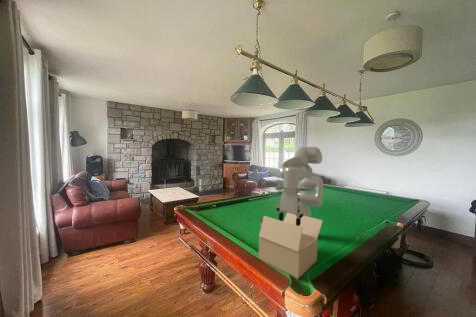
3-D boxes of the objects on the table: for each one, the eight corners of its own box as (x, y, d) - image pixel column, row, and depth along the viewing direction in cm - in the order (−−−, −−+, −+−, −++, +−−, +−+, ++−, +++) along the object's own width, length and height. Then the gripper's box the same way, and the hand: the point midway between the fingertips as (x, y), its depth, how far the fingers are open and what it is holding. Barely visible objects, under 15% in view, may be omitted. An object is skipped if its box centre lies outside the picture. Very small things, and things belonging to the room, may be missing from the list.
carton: (280, 246, 112) (281, 226, 112) (316, 260, 97) (317, 238, 97) (258, 259, 96) (259, 236, 96) (297, 279, 81) (299, 252, 81)
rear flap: (281, 226, 112) (281, 226, 112) (317, 238, 97) (317, 238, 97) (287, 211, 117) (287, 212, 117) (322, 220, 102) (322, 220, 102)
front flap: (264, 215, 99) (263, 215, 98) (303, 227, 84) (302, 227, 83) (259, 236, 96) (259, 236, 95) (298, 251, 81) (298, 251, 81)
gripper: (309, 192, 93) (308, 226, 93) (279, 188, 105) (278, 217, 105) (303, 194, 88) (301, 229, 88) (272, 189, 100) (271, 220, 100)
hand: (289, 223), depth 96 cm, fingers open, 9 cm apart
